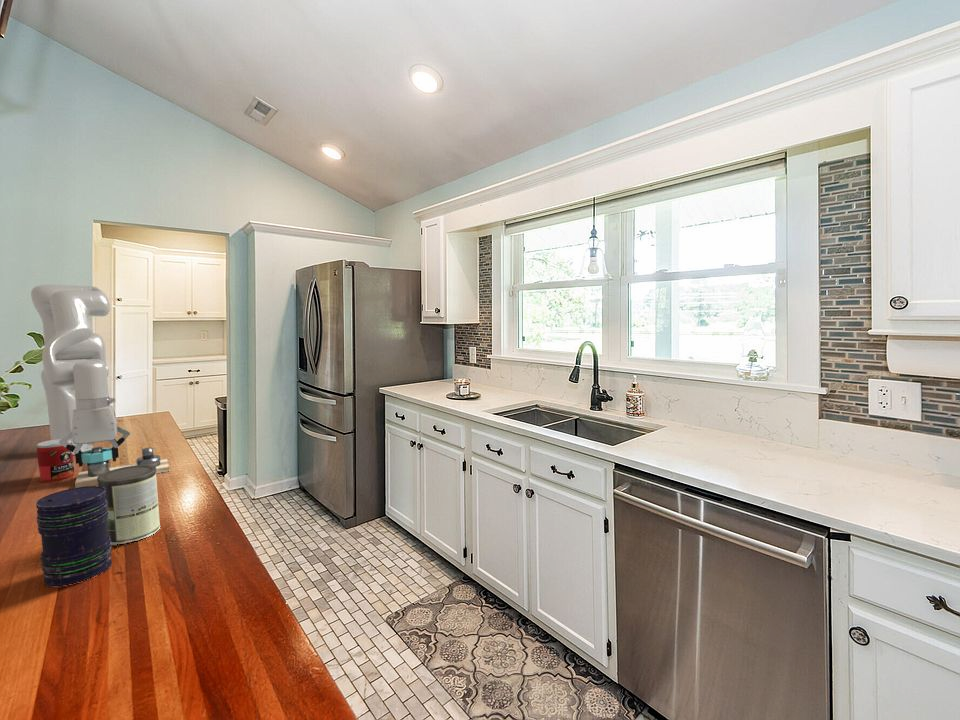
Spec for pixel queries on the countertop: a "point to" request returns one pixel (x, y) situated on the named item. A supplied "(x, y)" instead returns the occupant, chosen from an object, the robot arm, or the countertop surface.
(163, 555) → the countertop surface
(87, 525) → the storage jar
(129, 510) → the coffee can
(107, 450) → the teal octagonal collar
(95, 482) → the base board
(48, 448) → the canned food
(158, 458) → the knob
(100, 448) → the stand
